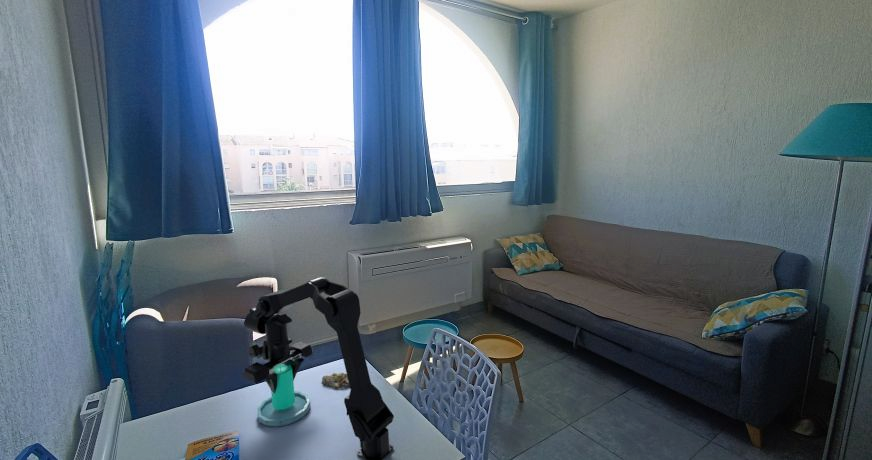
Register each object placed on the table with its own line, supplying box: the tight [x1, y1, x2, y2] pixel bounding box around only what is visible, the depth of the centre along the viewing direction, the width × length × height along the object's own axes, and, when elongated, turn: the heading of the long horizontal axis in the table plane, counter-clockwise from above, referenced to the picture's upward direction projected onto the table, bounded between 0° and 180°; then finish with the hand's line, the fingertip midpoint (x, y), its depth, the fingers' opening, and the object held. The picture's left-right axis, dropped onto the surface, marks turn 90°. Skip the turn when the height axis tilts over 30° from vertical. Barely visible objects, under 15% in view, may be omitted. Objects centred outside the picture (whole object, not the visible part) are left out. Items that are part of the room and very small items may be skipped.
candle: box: [270, 363, 295, 410], centre depth 111 cm, size 6×6×12 cm
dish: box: [256, 390, 311, 427], centre depth 113 cm, size 14×14×2 cm
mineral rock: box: [321, 372, 350, 390], centre depth 127 cm, size 11×4×8 cm
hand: (282, 388), depth 112 cm, fingers closed on candle, 5 cm apart
